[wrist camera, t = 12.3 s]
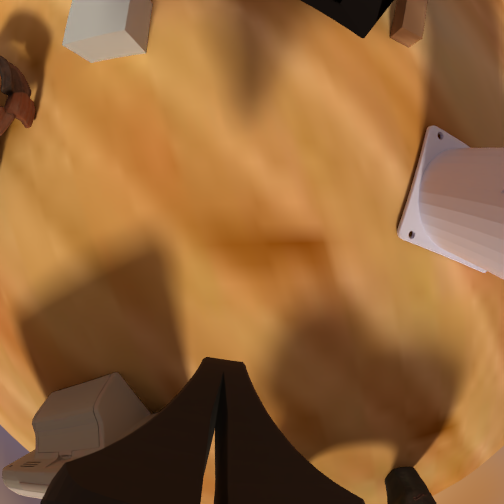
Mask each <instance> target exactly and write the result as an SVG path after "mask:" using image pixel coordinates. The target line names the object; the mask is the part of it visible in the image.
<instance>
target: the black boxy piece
mask: <svg viewBox="0 0 504 504" xmlns="http://www.w3.org/2000/svg"><path fill="white" fill-rule="evenodd" d="M301 1H303V2H305V3H306V4H308V5H310V6H312V7H313V8H315V9H317V10H319V11H320V12H322V13H324V14H325V15H327V16H329V17H330V18H332V19H334V20H335V21H337V22H338V23H340V24H341V25H343V26H345V27H346V28H348V29H349V30H351V31H352V32H354V33H355V34H356V35H358V36H359V37H361V38H365V36H366V35H367V34H368V32H369V31H370V30H371V29H372V27H373V26H374V25H375V23H376V22H377V21H378V20H379V18H380V17H381V16H382V14H383V13H384V12H385V11H386V9H387V8H388V7H389V6H390V4H391V3H392V2H393V1H394V0H301Z"/></svg>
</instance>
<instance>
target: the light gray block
mask: <svg viewBox="0 0 504 504" xmlns="http://www.w3.org/2000/svg"><path fill="white" fill-rule="evenodd" d="M152 5H153V4H152V2H151V1H150V0H72V4H71V8H70V12H69V16H68V20H67V25H66V29H65V34H64V39H63V44H62V45H63V46H64V47H66V48H68V49H69V50H71V51H73V52H74V53H76V54H78V55H79V56H81V57H83V58H84V59H86V60H87V61H89V62H91V63H93V62H97V61H102V60H107V59H113V58H118V57H124V56H130V55H137V54H144V53H146V50H147V42H148V34H149V26H150V19H151V12H152Z"/></svg>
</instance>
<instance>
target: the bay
mask: <svg viewBox="0 0 504 504" xmlns="http://www.w3.org/2000/svg"><path fill="white" fill-rule="evenodd" d="M426 8H427V0H397V4H396V9H395V15H394V20H393V25H392V29H391V34H390V38H392V39H394V40H396V41H397V42H399V43H401V44H403V45H405V46H407V47H410V46H412V45H413V44H414V43H416V42H417V41H419V40H420V39H422V37H423V31H424V24H425V16H426Z"/></svg>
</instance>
